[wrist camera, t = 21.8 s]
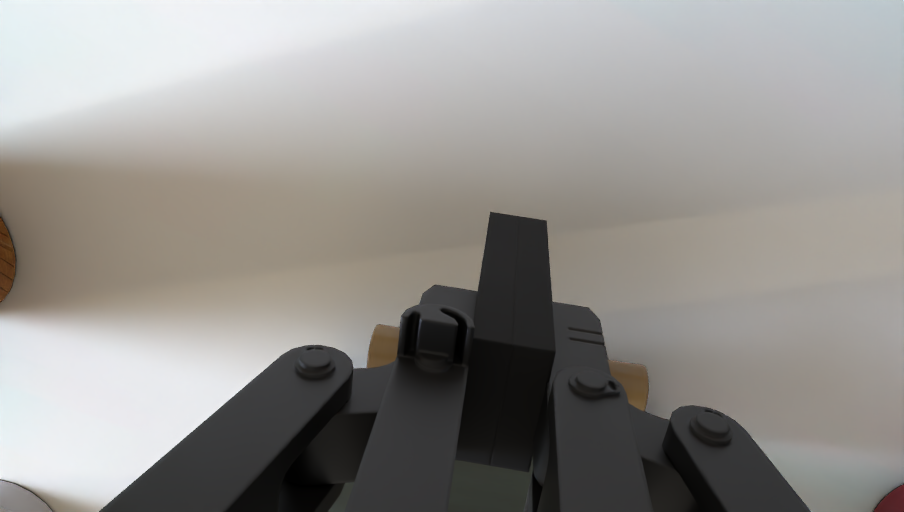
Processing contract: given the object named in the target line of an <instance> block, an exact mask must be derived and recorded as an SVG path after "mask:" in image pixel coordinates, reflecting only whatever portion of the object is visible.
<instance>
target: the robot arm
mask: <svg viewBox="0 0 904 512" xmlns="http://www.w3.org/2000/svg"><path fill="white" fill-rule="evenodd" d="M532 457H533V472H532V477H531V481H530V485H529V490H528V494H527V499H526V503H525V508H524V512H811V511H810V510H809V508H808V507H807V506H806V505H805V503H804V502H803V501H802V500H801V498H800V497H799V496H798V495H797V494H796V492H795V491H794V490H793V489H792V487H791V486H790V485H789V484H788V482H787V481H786V480H785V479H784V477H783V476H782V475H781V474H780V472H779V471H778V470H777V469H776V467H775V466H774V465H773V464H772V462H771V461H770V460H769V459H768V457H767V456H766V455H765V454H764V452H763V451H762V450H761V449H760V447H759V446H758V445H757V444H756V442H755V441H754V440H753V439H752V437H751V436H750V435H749V434H748V432H747V431H746V430H745V429H744V428H743V427H742V426H741V425H739V424H738V423H737V422H736V421H735V420H733V419H732V418H730V417H728V416H726V415H725V414H723V413H722V412H719V411H717V410H713V409H711V408H707V407H700V406H693V405H692V406H684V407H679V408H678V409H676V410H675V411H673V412H672V415H671V418H670V421H668V420H665V419H662V418H660V417H657V416H654V415H651V414H649V413H647V412H644V411H642V410H640V409H638V408H636V407H634V406H633V405H631V404H629V402H628V398H627V393H626V391H625V389H624V387H623V386H622V384H621V383H620V382H619V381H617V380H616V379H615V378H614V377H613V376H611V372H610V367H609V362H608V358H607V353H606V348H605V346H604V338H603V335H602V328H601V323H600V320H599V319H598V318H597V316H596V315H595V314H594V313H593V312H592V311H591V310H590V309H589V308H588V307H582V306H575V305H569V304H563V303H557V302H552V291H551V277H550V263H549V249H548V236H547V222H546V221H545V220H539V219H532V218H526V217H519V216H513V215H507V214H500V213H494V212H490V217H489V224H488V230H487V236H486V243H485V249H484V255H483V261H482V268H481V274H480V280H479V287H478V291H472V290H466V289H459V288H453V287H447V286H441V285H434V286H432V287H431V288H430V289H428V290H427V291H425V292H424V293H423V295H422V298H421V301H420V304H419V305H416V306H413V307H411V308H409V309H407V310H406V311H405V312H404V313H403V314H402V316H401V322H400V331H399V341H398V350H397V357H396V360H395V361H394V362H391V363H389V364H387V365H384V366H380V367H374V368H361V369H353V364H352V360H351V359H350V358H349V357H348V356H347V355H346V354H345V353H344V352H342V351H340V350H337V349H335V348H332V347H327V346H322V345H308V346H302V347H298V348H294V349H291V350H290V351H288V352H286V353H285V354H283V355H281V356H280V357H279V358H278V359H277V360H276V361H274V362H273V363H272V364H271V365H270V366H269V367H267V368H266V369H265V370H264V371H263V372H262V373H260V374H259V375H258V376H257V377H256V378H255V379H253V380H252V381H251V382H250V383H249V384H247V385H246V386H245V387H244V388H243V389H242V390H240V391H239V392H238V393H237V394H236V395H235V396H233V397H232V398H231V399H230V400H229V401H228V402H226V403H225V404H224V405H223V406H222V407H221V408H219V409H218V410H217V411H216V412H215V413H214V414H212V415H211V416H210V417H209V418H208V419H207V420H205V421H204V422H203V423H202V424H201V425H200V426H198V427H197V428H196V429H195V430H194V431H193V432H191V433H190V434H189V435H188V436H187V437H186V438H184V439H183V440H182V441H181V442H180V443H179V444H177V445H176V446H175V447H174V448H173V449H172V450H170V451H169V452H168V453H167V454H166V455H165V456H163V457H162V458H161V459H160V460H159V461H158V462H156V463H155V464H154V465H153V466H152V467H151V468H149V469H148V470H147V471H146V472H145V473H143V474H142V475H141V476H140V477H139V478H138V479H136V480H135V481H134V482H133V483H132V484H131V485H129V486H128V487H127V488H126V489H125V490H124V491H122V492H121V493H120V494H119V495H118V496H117V497H115V498H114V499H113V500H112V501H111V502H110V503H108V504H107V505H106V506H105V507H104V508H103V509H101V510H100V511H99V512H328V511H329V509H330V508H331V507H332V505H333V504H334V502H335V501H336V500H337V498H338V497H339V496H340V494H341V492H342V490H343V487H344V485H345V483H350V482H354V485H353V488H352V491H351V494H350V497H349V499H348V502H347V505H346V508H345V511H344V512H448V505H449V498H450V491H451V484H452V478H453V471H454V464H455V460H459V461H465V462H471V463H477V464H482V465H488V466H494V467H500V468H506V469H511V470H517V471H523V472H529V470H530V466H531V461H532Z"/></svg>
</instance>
